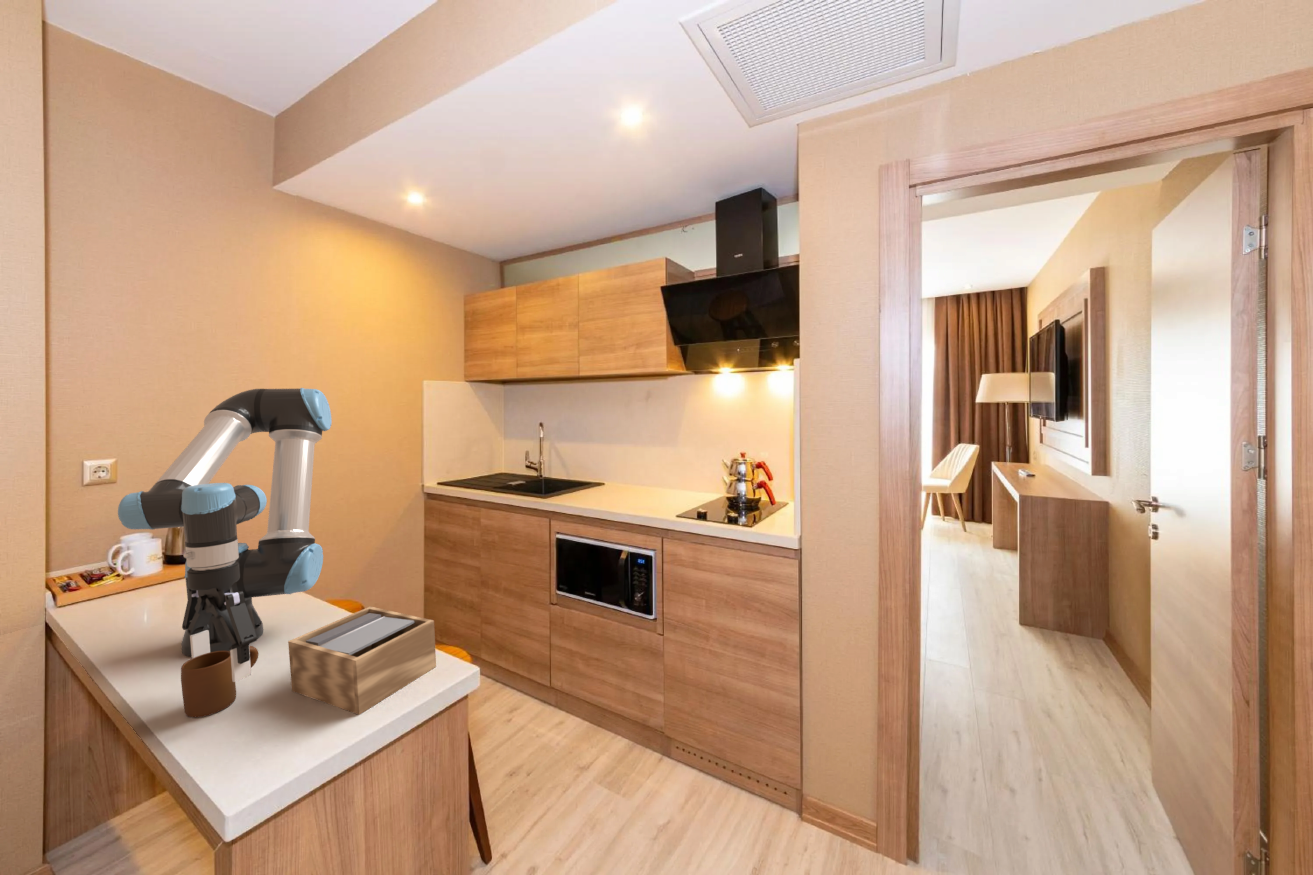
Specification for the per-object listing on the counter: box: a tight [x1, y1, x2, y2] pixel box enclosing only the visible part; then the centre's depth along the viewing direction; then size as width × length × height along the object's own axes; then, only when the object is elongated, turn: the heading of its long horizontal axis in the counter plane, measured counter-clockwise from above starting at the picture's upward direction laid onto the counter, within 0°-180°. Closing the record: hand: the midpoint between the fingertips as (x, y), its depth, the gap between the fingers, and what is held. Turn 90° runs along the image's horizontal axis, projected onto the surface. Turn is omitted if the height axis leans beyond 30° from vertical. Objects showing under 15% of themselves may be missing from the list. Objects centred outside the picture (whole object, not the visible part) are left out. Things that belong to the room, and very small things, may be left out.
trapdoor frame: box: [287, 606, 437, 716], centre depth 105 cm, size 20×18×10 cm
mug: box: [180, 645, 260, 718], centre depth 98 cm, size 12×8×9 cm, turn 153°
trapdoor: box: [306, 613, 415, 655], centre depth 105 cm, size 14×15×4 cm
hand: (221, 671), depth 97 cm, fingers open, 13 cm apart
